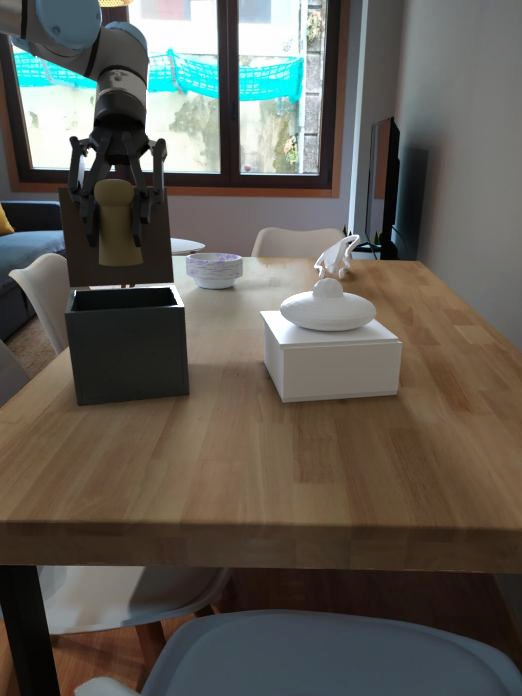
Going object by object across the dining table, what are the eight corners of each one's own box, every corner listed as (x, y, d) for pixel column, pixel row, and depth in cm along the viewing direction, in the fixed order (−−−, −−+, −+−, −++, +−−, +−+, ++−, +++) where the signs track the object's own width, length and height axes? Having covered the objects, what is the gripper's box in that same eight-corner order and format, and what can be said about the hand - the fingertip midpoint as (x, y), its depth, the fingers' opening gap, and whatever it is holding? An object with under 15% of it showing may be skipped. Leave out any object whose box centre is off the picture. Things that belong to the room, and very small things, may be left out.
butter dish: (397, 394, 81) (408, 289, 75) (279, 403, 78) (280, 293, 72) (359, 355, 97) (366, 266, 91) (260, 361, 94) (260, 268, 88)
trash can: (189, 394, 80) (184, 306, 75) (77, 405, 76) (63, 313, 71) (179, 363, 92) (174, 285, 87) (81, 371, 88) (70, 290, 83)
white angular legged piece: (373, 277, 152) (371, 250, 170) (355, 251, 149) (355, 226, 167) (324, 308, 159) (327, 279, 177) (305, 284, 156) (311, 257, 174)
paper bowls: (248, 281, 154) (248, 252, 151) (235, 293, 140) (235, 262, 137) (196, 278, 156) (195, 250, 153) (179, 290, 142) (177, 259, 139)
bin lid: (166, 187, 83) (166, 188, 84) (57, 187, 79) (58, 187, 80) (174, 282, 86) (173, 282, 87) (69, 287, 82) (70, 287, 83)
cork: (91, 261, 77) (81, 178, 73) (131, 257, 81) (123, 178, 76) (110, 267, 73) (100, 180, 69) (151, 263, 77) (144, 180, 72)
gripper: (49, 87, 76) (32, 222, 68) (181, 92, 78) (181, 222, 70) (64, 131, 83) (51, 258, 74) (185, 133, 85) (185, 257, 77)
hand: (114, 240), depth 72 cm, fingers closed on cork, 5 cm apart
